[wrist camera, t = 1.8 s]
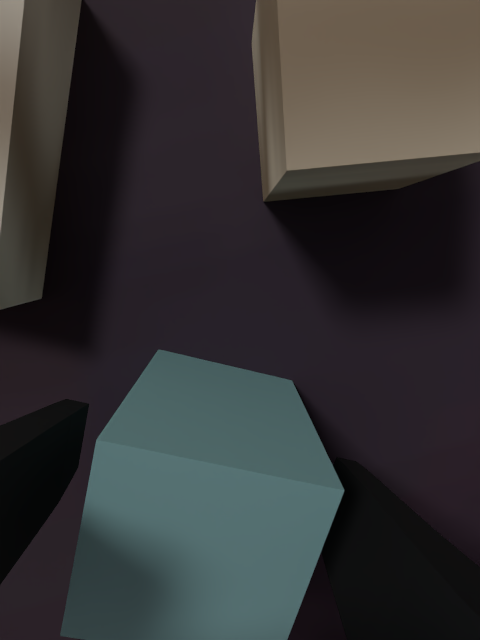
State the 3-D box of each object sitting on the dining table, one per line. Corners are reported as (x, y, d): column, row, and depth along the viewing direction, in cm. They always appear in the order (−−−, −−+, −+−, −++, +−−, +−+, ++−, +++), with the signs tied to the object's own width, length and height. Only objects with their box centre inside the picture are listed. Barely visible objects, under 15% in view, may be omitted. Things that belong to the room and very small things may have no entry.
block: (396, 189, 9) (513, 149, 6) (263, 202, 9) (286, 170, 6) (399, 31, 9) (541, -148, 5) (251, 44, 9) (269, -125, 5)
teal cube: (256, 491, 12) (276, 668, 7) (133, 467, 11) (60, 635, 6) (291, 379, 11) (344, 490, 6) (159, 348, 10) (96, 439, 5)
